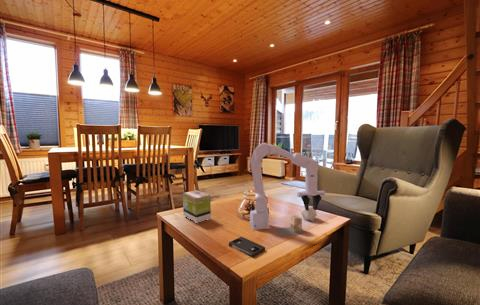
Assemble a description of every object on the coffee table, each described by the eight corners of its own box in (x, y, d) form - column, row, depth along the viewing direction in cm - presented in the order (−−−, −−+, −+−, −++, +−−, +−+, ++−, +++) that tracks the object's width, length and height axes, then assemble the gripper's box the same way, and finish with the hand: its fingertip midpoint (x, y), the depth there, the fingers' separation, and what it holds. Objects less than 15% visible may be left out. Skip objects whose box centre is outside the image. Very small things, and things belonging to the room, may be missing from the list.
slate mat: (280, 237, 109) (280, 236, 109) (273, 229, 118) (273, 228, 117) (307, 234, 112) (307, 233, 112) (299, 226, 120) (299, 226, 120)
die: (309, 225, 124) (320, 211, 124) (296, 214, 129) (306, 200, 128) (311, 225, 132) (321, 211, 131) (298, 215, 136) (308, 202, 136)
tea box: (182, 216, 136) (182, 192, 135) (197, 212, 143) (196, 189, 142) (196, 224, 125) (195, 197, 124) (211, 219, 132) (211, 194, 130)
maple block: (293, 232, 113) (294, 218, 112) (290, 229, 117) (290, 215, 116) (301, 231, 114) (302, 218, 113) (298, 228, 118) (298, 215, 117)
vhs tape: (228, 246, 101) (228, 242, 101) (241, 240, 107) (241, 236, 107) (252, 259, 91) (252, 254, 91) (265, 251, 97) (265, 247, 97)
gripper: (301, 186, 109) (301, 213, 111) (329, 184, 112) (328, 211, 114) (295, 182, 116) (294, 209, 117) (321, 181, 119) (320, 206, 120)
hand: (310, 209), depth 116 cm, fingers open, 4 cm apart
